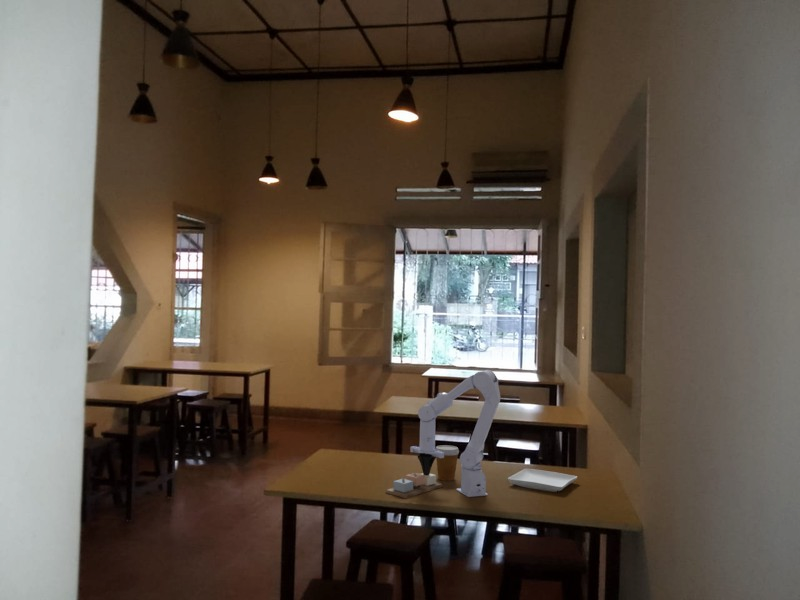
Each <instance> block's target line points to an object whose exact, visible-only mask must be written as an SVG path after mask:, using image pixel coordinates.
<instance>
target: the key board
mask: <svg viewBox="0 0 800 600" xmlns="http://www.w3.org/2000/svg"><path fill="white" fill-rule="evenodd" d="M442 487H443V483H440V482H436V483H435V484H431V485H428V486H427V485H423V484H422V485H418V486H413V490H411V491H407V492H400V491H397V490H393V487H390V488H388V489H386V491H385V493H387V494H390V495H394V496H398V497H401V498H405V499H406V498H410V497H414V496H417V495H420V494H423V493H427V492H429V491H430V492H431V491H433V490H436V489H440V488H442Z"/></svg>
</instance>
